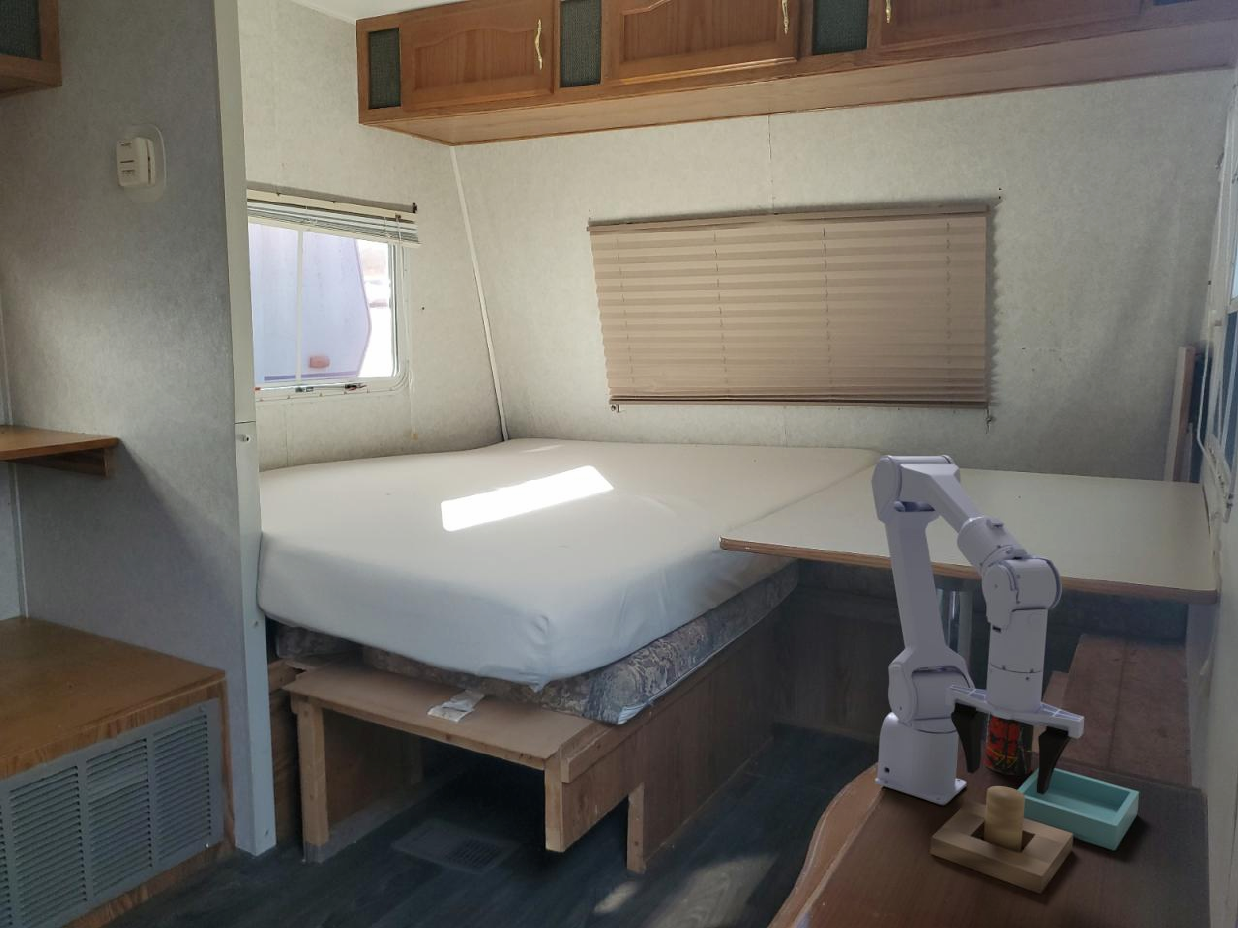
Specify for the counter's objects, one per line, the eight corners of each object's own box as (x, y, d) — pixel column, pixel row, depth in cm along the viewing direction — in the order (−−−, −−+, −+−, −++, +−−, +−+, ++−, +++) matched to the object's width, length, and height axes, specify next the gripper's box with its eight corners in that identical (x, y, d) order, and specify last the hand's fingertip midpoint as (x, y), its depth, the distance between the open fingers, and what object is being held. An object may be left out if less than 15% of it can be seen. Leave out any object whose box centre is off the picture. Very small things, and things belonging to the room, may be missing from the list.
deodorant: (978, 756, 134) (985, 654, 132) (1020, 757, 134) (1028, 655, 132) (993, 774, 128) (1001, 668, 126) (1037, 776, 128) (1046, 669, 126)
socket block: (930, 853, 107) (931, 836, 107) (968, 815, 116) (969, 800, 116) (1040, 893, 100) (1042, 876, 99) (1071, 849, 109) (1073, 833, 109)
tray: (1011, 817, 116) (1013, 794, 116) (1039, 785, 125) (1041, 763, 125) (1114, 850, 109) (1116, 826, 108) (1137, 814, 118) (1139, 791, 117)
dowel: (977, 852, 108) (982, 794, 107) (989, 839, 111) (994, 782, 110) (1013, 864, 105) (1018, 805, 104) (1025, 851, 108) (1029, 793, 107)
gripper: (938, 658, 107) (931, 772, 108) (1075, 689, 98) (1065, 813, 99) (961, 644, 112) (954, 753, 114) (1092, 672, 103) (1083, 790, 105)
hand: (1007, 780), depth 107 cm, fingers open, 7 cm apart
